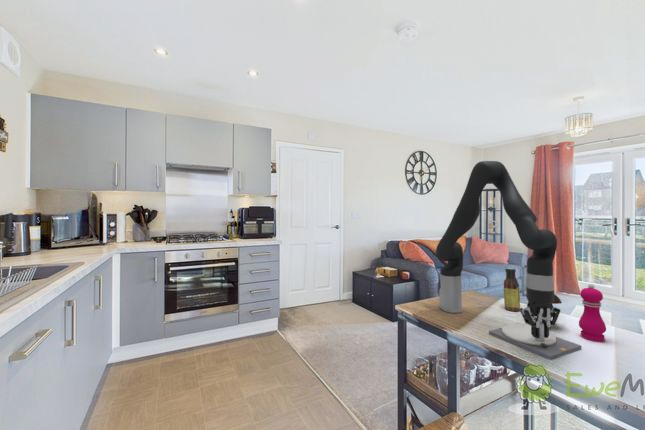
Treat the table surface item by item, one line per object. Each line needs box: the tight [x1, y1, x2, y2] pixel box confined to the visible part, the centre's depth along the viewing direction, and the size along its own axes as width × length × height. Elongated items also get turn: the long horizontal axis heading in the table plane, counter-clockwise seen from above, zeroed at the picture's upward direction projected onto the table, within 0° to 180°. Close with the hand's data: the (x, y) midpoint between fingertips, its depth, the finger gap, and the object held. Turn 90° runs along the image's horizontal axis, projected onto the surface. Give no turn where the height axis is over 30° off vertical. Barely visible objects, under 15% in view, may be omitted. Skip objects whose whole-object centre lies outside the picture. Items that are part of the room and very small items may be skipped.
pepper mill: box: [578, 283, 607, 343], centre depth 102 cm, size 7×7×20 cm
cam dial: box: [501, 322, 557, 348], centre depth 101 cm, size 18×16×7 cm
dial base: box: [488, 327, 582, 361], centre depth 100 cm, size 21×17×1 cm
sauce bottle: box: [503, 267, 521, 312], centre depth 133 cm, size 7×6×20 cm
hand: (540, 336), depth 95 cm, fingers closed on cam dial, 2 cm apart
